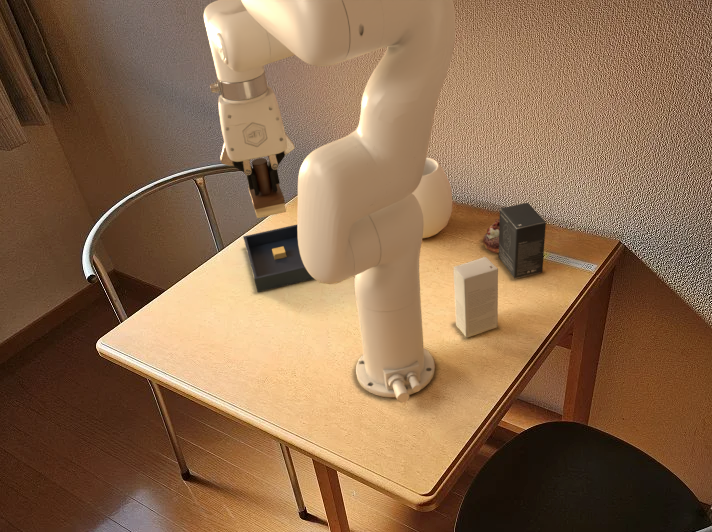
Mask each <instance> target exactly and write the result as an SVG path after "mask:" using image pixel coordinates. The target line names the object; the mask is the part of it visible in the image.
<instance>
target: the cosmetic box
mask: <svg viewBox="0 0 712 532" xmlns="http://www.w3.org/2000/svg"><path fill="white" fill-rule="evenodd" d="M453 287H454V289H453V290H454V311H455V313H454V314H455V315H454V316H455V326H456V327H457V329H459V330H460V332H461V333H462V335H464V337H465V338H466V339H468V338H471V337H473V336H476V335H479V334H482V333H485V332H487V331H490V330H495V329H497V328H498V327H499V325H498V324H499V322H498V321H499V320H498V319H499V318H498V315H499V311H498V310H499V308H498V307H499V268H498V267H497V266H496V265H495V264H494V263H493V262H492V261H491V260H490V259H489V258H488V257H486V256H483V257H480V258H476V259H474V260H471V261H468V262H465V263H462V264H459V265H454V266H453Z"/></svg>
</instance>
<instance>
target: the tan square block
mask: <svg viewBox="0 0 712 532" xmlns="http://www.w3.org/2000/svg"><path fill="white" fill-rule="evenodd" d="M272 252H273V256H274V259H275V260H276V259H281V258H285V257H286V252H285V249H284V246H282V247H278V248H273V249H272Z"/></svg>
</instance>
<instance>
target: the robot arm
mask: <svg viewBox="0 0 712 532" xmlns="http://www.w3.org/2000/svg"><path fill="white" fill-rule="evenodd" d="M203 21H204V26H205V29H206V34H207V38H208V42H209V46H210V51H211V56H212V59H213V65H214V68H215V72H216V77H217V79H216V80H215V82H214V83H209V87H210V91H211V94H214V93H215V94H219V96H218V115H219V123H220V129H221V133H222V139H223V145H222V150H221V153H220V157H219V160H220V163H221V164H222V165H225V166H228V167H234V168H235V169H237V170H239V171H240V172H243V173H244V175H245V176H246V180H247V185H248V186H249V189H250V190H252V189H254V192H255V195H256V196H257V195H258V194H259V190H258V185H257V181H256V176H255V173H254V170H253V166H252V164H251V160H255V159H258V158H264V157H267V159H268V161H267V164H268V169H269V174H270V179H271V184H272V189H273V191H277V185H276V184H279V185H280V184H281V183H280V177H279V172H278V169H279V165H280V164H281V163H282V161H283V160H284V158H285V157H286V155H288V154H290V153H291V152H292V151H293V150H295V148H296V146H295V144H294V142H293V141H292V140H291V138H290V137H289V135H288V134H287V133H286V130H285V126H284V122H283V121H284V120H283V118H282V113H281V109H280V106H279V103H278V99H277V96H276V94H275V91H274V90H273V88H272V87H270V86H269V85H268V81H267V75H266V70H265V66H266V65H268V64H272V63H275V62H278V61H282V60H284V59H287V58H291V57H294V56H296V57H297V58H298V59H299V60H301V61H302V62H304V63H305V64H307V65H310V66H313V67H320V68H321V67H322V68H325V67H326V68H327V67H331V66H335V65H338V64H342V63H344V62H347V61H350V60H353V59H355V58H359V57H362V56H364V55H367V54H370V53H373V52H376V51H379V50H381V49H385V48H386V50H385V52H384V54H383V55H382V57H381V58H380V60H379V61H378V63H377V65H376V66H375V68H374V69H373V71H372V73H371V75H370V76H369V79H368V80H367V82H366V85H365V88H364V90H363V93H362V97H361V101H360V102H361V103H360V114H359V115H360V116H359V121H358V124H357V127H356V128H355V129H354V131H352V132H350V133H349V134H347V135H346V136H343V137H341V138H339V139H336V140H333V141H331V142H328V143H326V144H324V145H321V146H319V147H317V148H315V149H314V150H312V151H311V152H310V153H309V154H308V155H307V156H306V157H305V158H304V159H303V161H302V163H301V165H300V168H299V171H298V176H297V177H298V178H297V221H296V222H297V224H296V225H297V231H298V246H299V251H300V256H301V259H302V262H303V264H304V266H305V268H306V270H307V271H308V273H309V274H310V275H311V276H312V277H313V278H314V279H313V280H315V281H317V282H319V283H321V284H325V285H336V284H339V283H342V282H344V281H346V280H349V279H351V278H353V277H354V285H353V286H354V295H355V302H356V311H357V318H358V324H359V325H358V327H359V332H360V339H361V347H362V354H361V356H360V357H359V359H358V360H357V362H356V367H355V375H356V379H357V381H358V383H359V385H360V386H361V387H362V388H363V389H364V390H366V391H367V392H368V393H371V394H373V395H376V396H378V397H383V398H396V400H397V402H399V403H402V404H403V403H406V402H407V401H408V400H409V399H410V395H413V394H415V393H418V392H420V391H421V390H423V389H424V388H425V387H427V385H428V384H430V383H431V381H432V380H433V378H434V375H435V370H436V365H435V360H434V357H433V355H432V354H431V353H430V352H429V351H428V350H427V349H426V348H425V347H424V346H425V345H424V332H423V331H424V329H423V315H422V300H421V299H422V298H421V281H420V256H421V248H422V243H423V238H422V237H423V227H424V221H423V213H422V209H421V206H420V204H419V202H418V200H417V199H416V197H415V196H414V195H413V194H412V193H413V192H414V191H415V190H416V188H417V187H418V185H419V183H420V181H421V178H422V175H423V171H424V166H425V161H426V157H427V156H428V151H429V146H430V141H431V136H432V132H433V131H432V130H433V125H434V121H435V113H436V109H437V105H438V101H439V98H440V94H441V91H442V90H443V89H442V88H443V86H444V82H445V80H446V77H447V74H448V71H449V68H450V65H451V61H452V57H453V53H454V48H455V43H456V42H455V41H456V29H457V28H456V25H457V23H456V11H455V3H454V0H214V1H213V2H210V3H209V4H207V5H206V6H205V8H204V11H203ZM249 189H248V190H249Z"/></svg>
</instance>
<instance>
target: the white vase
mask: <svg viewBox="0 0 712 532" xmlns="http://www.w3.org/2000/svg"><path fill="white" fill-rule="evenodd" d="M452 192H453V191H452V185H451V183H450V181H449V179H448V176H447V175H446V172H445V170H444V169H443V167H442V166H441V164H440V162H439V161H438V160H435V159H434V158H430V157H427V156H426V161H425V166H424V171H423V175H422V178H421V181H420V183H419V185H418V187H417V188H416V190H415V191H414V192H413V193H412V194H413V195H414V196H415V197H416V199H417V200H418V202H419V204H420V206H421V209H422V213H423V221H424V227H423V237H422V239H426V238H427V239H428V238H431V237H433V236H435V235H437V234H439V233H440V232H441V231H442V230H444V229H445V228H446V227H447V226H448V223H449V221H450V219H451V215H452V213H453V193H452Z"/></svg>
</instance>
